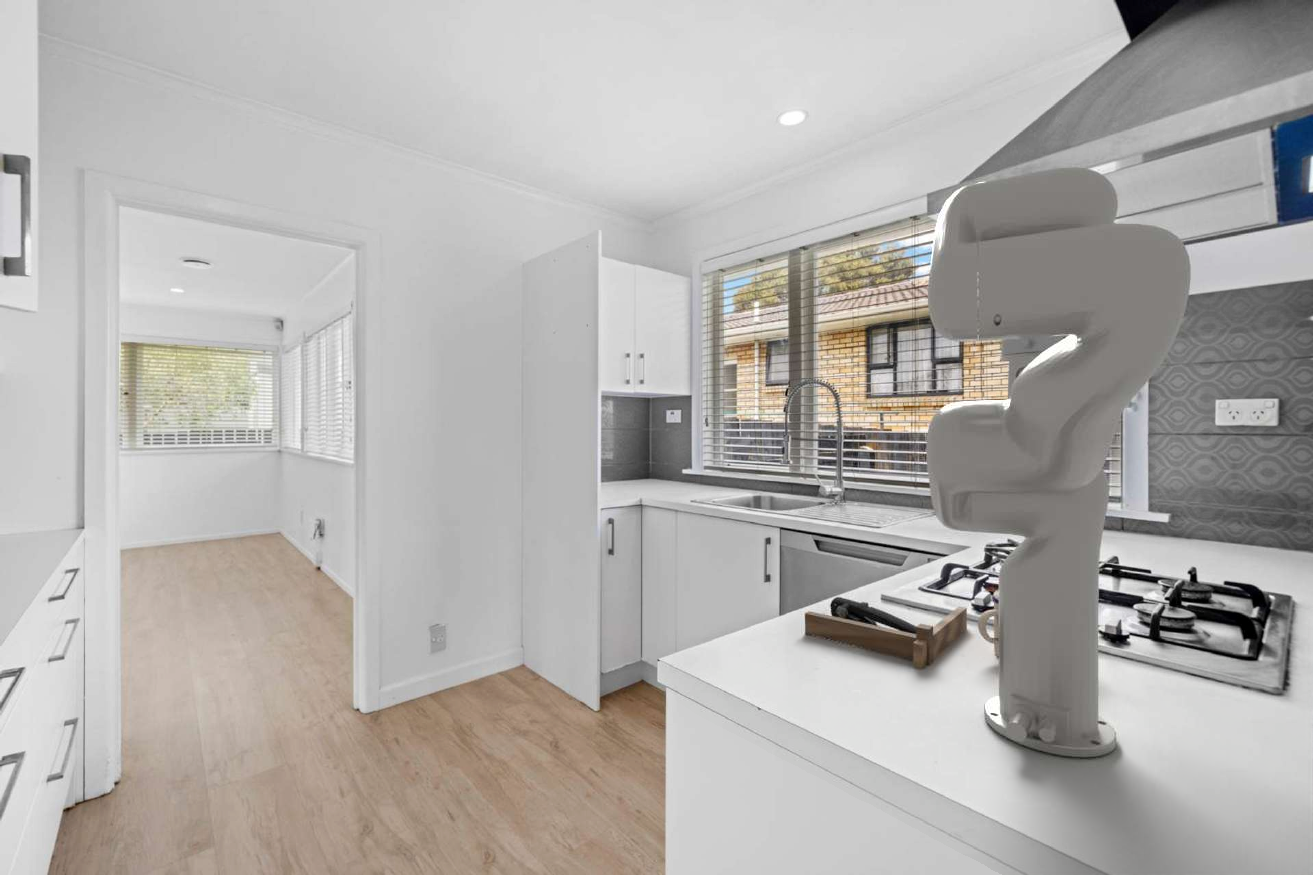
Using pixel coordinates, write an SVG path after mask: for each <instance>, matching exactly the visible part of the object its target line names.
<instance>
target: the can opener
mask: <svg viewBox="0 0 1313 875" xmlns="http://www.w3.org/2000/svg"><path fill="white" fill-rule="evenodd" d="M829 606H830V607H829V608H830V614H831V616H834V617H838V618H843V619H848V620H852V621H857V622H861V623H866V624H871V625H875V626H880V625H878V624H881V625H884V626H886V627H889V628H891V629H894V630H898V631H903V632H908V633H912V634H916V627H917V626H916V625H914V624H913V623H910V622H908V621H906V620H904V619H902V618H899V617H897V616H895V615H893V614H891V613H888V612H886V611H884V610H880V609H879V608H876V607H873V606H870V605H869V603H868V602H867V601H861V602H859V601H855V600H852V599H849V598H848V599H847V598H844V597H841V596H837V597H834V598H832V600H831V601H830V604H829ZM880 627H882V626H880Z"/></svg>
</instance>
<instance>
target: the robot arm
mask: <svg viewBox="0 0 1313 875" xmlns="http://www.w3.org/2000/svg"><path fill="white" fill-rule="evenodd" d="M1117 194H1118V193H1117V190H1116V189H1115V187H1114V185H1113V183H1112V182H1111V181H1110V180H1109V179H1108V178H1107V177H1106V176H1105V175H1103V174H1101V173H1100V172H1098V171H1096V170H1093V169H1090V168H1087V167H1086V168H1085V167H1078V166H1077V167H1074V166H1073V167H1072V166H1071V167H1060V168H1050V169H1045V170H1040V171H1033V172H1031V173H1024V174H1019V175H1014V176H1010V177H1003V178H997V179H993V180H987V181H979V182H975V183H971V184H966V185H965V186H963V187H961V188H960V189H957V190H956V191H955V192H954V193H952V195H950V197H949V198H948V199H947V200H946V201H945V203H944V205H943V206H942V209H941V211H940V213H939V215H938V218H937V222H936V226H935V230H934V234H933V235H934V236H933V243H932V251H931V258H930V259H931V260H930V267H929V268H930V269H929V274H928V275H929V277H928V287H927V306H928V314H929V318H930V321H931V323H932V325H933V328H934V329H935V331H936V332H937V334H939V335H940V336H941V337H943V338H944V339H946V340H949V341H954V342H961V343H962V342H963V343H974V342H975V343H977V342H989V341H1001V344H1000V346H1001V347H1000V350H1001V355H1000V356H1001V361H1002V362H1008V371H1007V373H1008V379H1007V381H1008V382H1007V399H1003V400H1002V399H1001V400H998V399H997V400H975V401H974V400H973V401H972V400H971V401H959V402H954V403H949V404H945V405H944V406H943V407H941V408H940V409H938V410H937V411H936V413H935V414H934V415H933V417H932V418H931V419H930V423H929V426H928V431H927V436H926V466H927V473H928V474H927V475H928V481H929V489H930V490H929V491H930V497H931V498H930V499H931V504H932V508H933V511H934V512H933V513H934V514H935V516H936V518H937V520H938V522H940V524H942V525H943V526H944V527H946V528H948V529H951V530H953V531H960V532H969V533H983V534H984V533H985V534H999V535H1000V534H1001V535H1012V536H1019V537H1020V536H1021V537H1024V540H1023V541H1022V542H1021V543H1020V544H1019V545H1018V546H1016V547H1015V548H1014V550H1012V551H1011V552H1010V553H1009V555H1008V556H1007V557H1005V559H1004V561H1003V562H1002V564H1001V567H1000V569H999V572H998V590H999V657H998V695H997V696H994V697H992V698H990V699H988V700H987V701H986V703H985V704H984V708H983V714H984V715H983V716H984V719H985V721H986V723H987V724H988V725H990V727H991V728H992V729H993V730H994V731H995V732H997V733H998V734H1000V735H1001V736H1003V737H1005V738H1007V739H1009V740H1011V741H1013V742H1015V743H1017V744H1019V745H1022V746H1024V747H1027V748H1029V749H1032V750H1036V751H1039V752H1040V751H1041V752H1043V753H1046V754H1047V753H1048V754H1053V755H1057V756H1063V757H1071V758H1093V757H1095V758H1096V757H1100V756H1105V755H1107V754H1109V753H1111V752H1112V751H1113V750H1114V749H1115V748H1116V745H1117V732H1116V731H1115V729H1114V727H1112V725H1111V724H1110V723H1109V721H1106V720H1105V719H1104V718H1102V717H1101V716H1099V600H1100V599H1099V598H1100V597H1099V596H1100V595H1099V594H1100V593H1099V592H1100V591H1099V588H1100V584H1099V583H1100V582H1099V580H1100V577H1099V576H1100V555H1101V547H1102V538H1103V533H1104V527H1105V522H1106V515H1107V513H1108V512H1107V511H1108V505H1109V498H1110V483H1109V479H1108V476H1107V475H1108V474H1106V472H1105V470H1104V469H1103V467H1104V466H1105V463H1106V461H1107V458H1108V455H1109V452H1110V449H1111V447H1112V444H1113V440H1114V438H1115V434H1116V433H1117V429H1118V427H1119V423H1120V421H1121V416H1122V414H1123V412H1124V410H1125V409H1126V407H1127V406H1128V405H1129V404H1130V402H1131V401H1132V400H1133V399H1134V398H1135V397H1136V395H1137V394H1138V393H1139V392H1140V391H1141V389H1142V388H1144V386H1145V385H1146V384H1147V383H1148V382H1149V380H1150V379H1151V378H1152V377H1153V375H1154V374H1155V373H1156V372H1157V370H1158V369H1159V367H1160V366H1161V365H1162V363H1163V361H1164V360H1165V358H1166V356H1167V355H1168V354H1169V352H1170V350H1171V347H1172V346H1173V344H1174V341H1175V339H1176V337H1177V335H1178V333H1179V330H1180V327H1181V325H1182V321H1183V318H1184V317H1185V312H1186V309H1187V303H1188V300H1189V294H1190V288H1191V286H1190V285H1191V277H1192V276H1191V275H1192V272H1191V271H1192V270H1191V268H1192V267H1191V262H1190V261H1191V260H1190V256H1189V253H1188V251H1187V248H1186V246H1185V244H1184V243H1183V240H1181V239H1180V237H1179V236H1177V235H1175V234H1174V233H1173V232H1171V231H1169V230H1168V229H1165V228H1162V227H1159V226H1155V225H1148V224H1141V223H1116V222H1115V219H1116V218H1117V213H1118V207H1119V206H1118V205H1119V201H1118V200H1119V199H1118V195H1117ZM1064 336H1067V337H1065V338H1064Z"/></svg>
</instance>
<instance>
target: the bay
mask: <svg viewBox="0 0 1313 875" xmlns="http://www.w3.org/2000/svg"><path fill="white" fill-rule="evenodd" d="M967 614H968V612H967V607H965V606H964V607H963V606H957V607H956V608H955V609H954V610H953V611H951V612H949V613H948V614H947V616H945V617H944V618H943V619H942V620H940V621H939V622H937V623H936V624H935V625H934V626H933V625H929V624H923V623H920V624H918V625H917V626H916V634H912V633H908V632H903V631H899V630H897V629H894V628H890V627H889V628H888V627H885V626H884V627H883V626H881V627H880V625H878V626H875V625H871V624H866V623H861V622H857V621H852V620H848V619H843V618H838V617H834V616H832V615H828V614H825V613H824V614H823V613H820V612H819V613H818V612H815V611H810V610H809V611H807V612H805V613H804V635H807V634H810V635H809V636H811V635H814V636H813V637H815V636H819V637H822V638H821V639H823V638H825V639H824V640H827V639H830V640H829V641H831V640H833V641H832V642H835V641H838V642H837V643H839V642H842V643H841V644H843V643H846V644H845V645H847V644H849V645H848V646H851V645H855V646H857V647H856V648H859V647H862V648H861V649H863V648H865V650H868V649H870V650H869V651H872V652H875V653H876V652H877V653H881V654H884V655H888V656H891V657H892V656H893V657H896V656H897V658H901V659H904V658H905V659H904V660H909V661H912V660H913V668H917V669H920V670H923V669H924V668H925V667H926V666H930V665H931V664H932V663H933V662H934V659H935V658H936V657H937V656H939V654H940V653H942V652H943V651H944V650H945V649H946V648H947V647H948V646H949V645H951V643H953V642H954V641H955V640H956V639H957V638H958V637H959V636H960V635H961V634H962V633H963V632H965V630H967V627H968V626H967V625H968V624H967V622H968V617H967V616H968V615H967ZM819 637H818V638H819ZM855 646H854V647H855Z"/></svg>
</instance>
